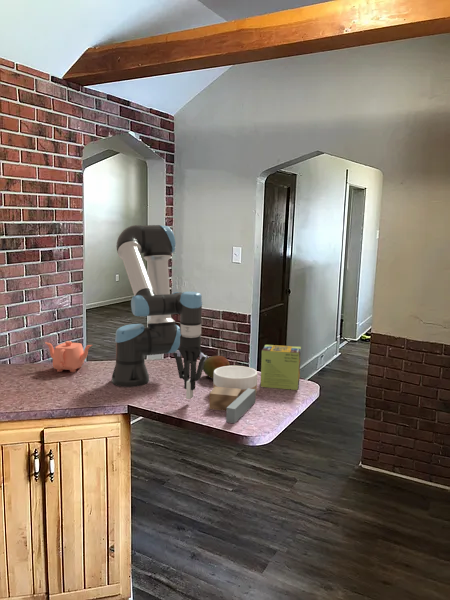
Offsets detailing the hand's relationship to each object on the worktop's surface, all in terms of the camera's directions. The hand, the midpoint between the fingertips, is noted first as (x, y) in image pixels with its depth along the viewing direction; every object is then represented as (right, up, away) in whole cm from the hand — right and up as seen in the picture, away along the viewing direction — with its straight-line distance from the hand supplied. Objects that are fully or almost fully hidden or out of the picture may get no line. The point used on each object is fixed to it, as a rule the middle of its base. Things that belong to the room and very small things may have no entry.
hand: (189, 397), depth 189 cm
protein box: (+36, +1, +24) cm, 43 cm away
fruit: (+9, +2, +32) cm, 33 cm away
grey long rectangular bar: (+19, -4, -6) cm, 20 cm away
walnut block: (+13, -3, -2) cm, 14 cm away
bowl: (+17, -1, +15) cm, 22 cm away
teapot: (-56, +5, +40) cm, 69 cm away
